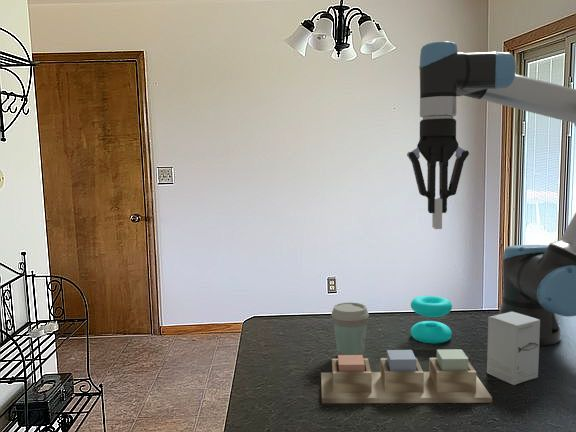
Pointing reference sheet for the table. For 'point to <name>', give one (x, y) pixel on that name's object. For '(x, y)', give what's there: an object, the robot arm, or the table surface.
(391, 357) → the slate button
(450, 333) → the donuts
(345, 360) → the terracotta button
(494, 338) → the supplement box
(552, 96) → the robot arm
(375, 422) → the table surface
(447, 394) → the button panel
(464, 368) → the sage button
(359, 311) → the coffee cup
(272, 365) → the table surface
